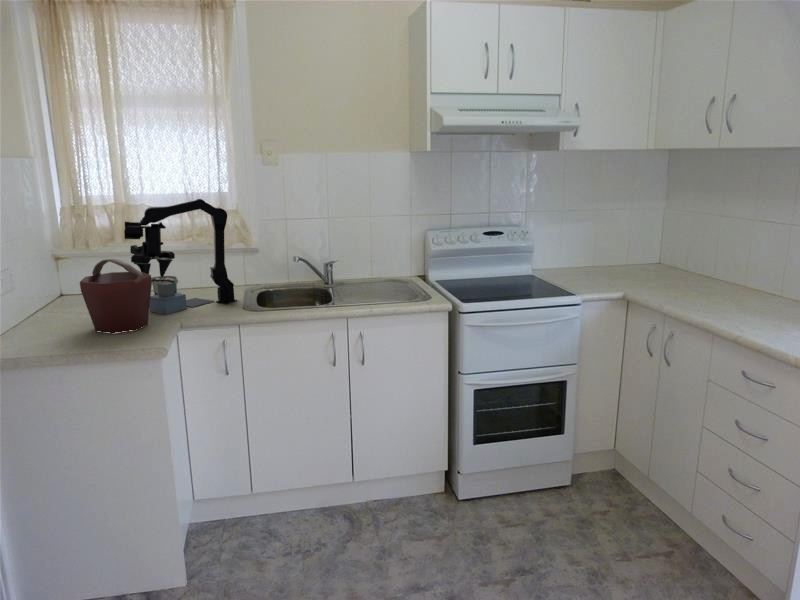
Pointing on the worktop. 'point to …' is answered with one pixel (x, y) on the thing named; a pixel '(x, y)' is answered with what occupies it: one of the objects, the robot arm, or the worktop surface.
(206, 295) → the worktop surface
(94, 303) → the bucket
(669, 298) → the worktop surface
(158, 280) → the food container
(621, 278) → the worktop surface
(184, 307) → the cover
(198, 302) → the mat
